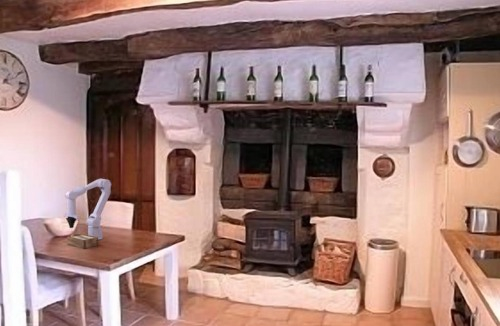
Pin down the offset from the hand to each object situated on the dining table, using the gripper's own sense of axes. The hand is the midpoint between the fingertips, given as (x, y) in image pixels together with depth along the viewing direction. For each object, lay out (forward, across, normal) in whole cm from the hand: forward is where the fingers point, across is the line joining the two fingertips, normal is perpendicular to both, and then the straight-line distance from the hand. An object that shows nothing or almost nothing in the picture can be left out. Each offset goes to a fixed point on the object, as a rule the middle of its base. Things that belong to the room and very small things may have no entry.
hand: (71, 227), depth 327 cm
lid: (+6, +12, 0) cm, 13 cm away
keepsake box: (+10, +12, 0) cm, 16 cm away
